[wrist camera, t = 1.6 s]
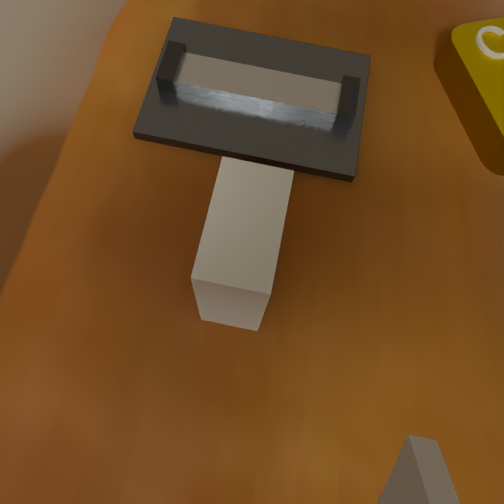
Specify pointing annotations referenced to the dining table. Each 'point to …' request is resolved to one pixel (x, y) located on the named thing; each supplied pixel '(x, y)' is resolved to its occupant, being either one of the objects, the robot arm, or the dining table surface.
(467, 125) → the element tile
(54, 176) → the dining table surface
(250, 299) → the block
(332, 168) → the mounting plate
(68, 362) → the dining table surface
